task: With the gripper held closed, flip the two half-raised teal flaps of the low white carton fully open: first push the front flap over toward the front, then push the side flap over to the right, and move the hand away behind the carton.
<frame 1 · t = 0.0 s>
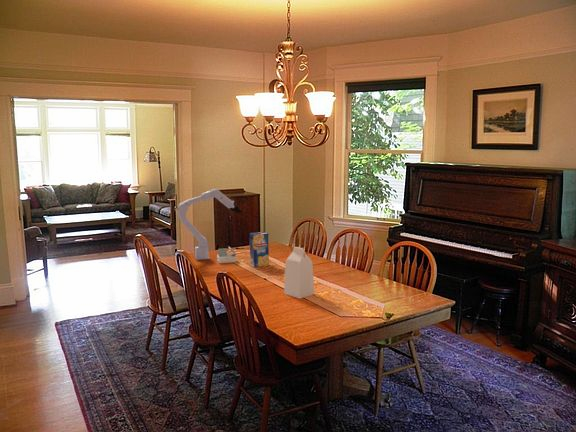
hand: (239, 212, 350), 32 cm above the table, tool tilted 50°, fingers open, 7 cm apart
side flap: (232, 250, 338), point 7 cm above the table, hinge at 50.0°
carton: (226, 261, 338), on the table
milk: (299, 294, 264), on the table
front flap: (222, 252, 334), point 7 cm above the table, hinge at 50.0°
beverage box: (259, 265, 327), on the table
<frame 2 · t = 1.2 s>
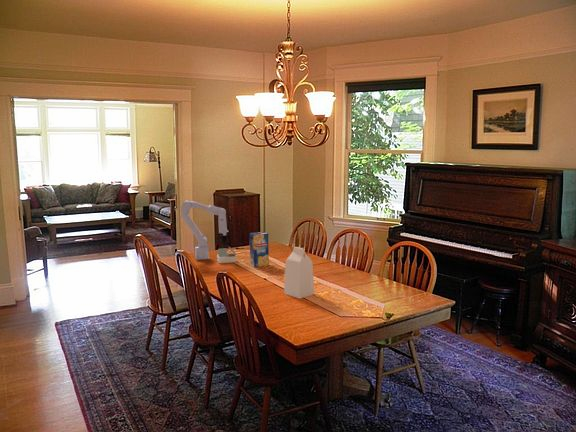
hand: (223, 243, 347), 10 cm above the table, tool pointing down, fingers open, 7 cm apart
nothing on the table moved.
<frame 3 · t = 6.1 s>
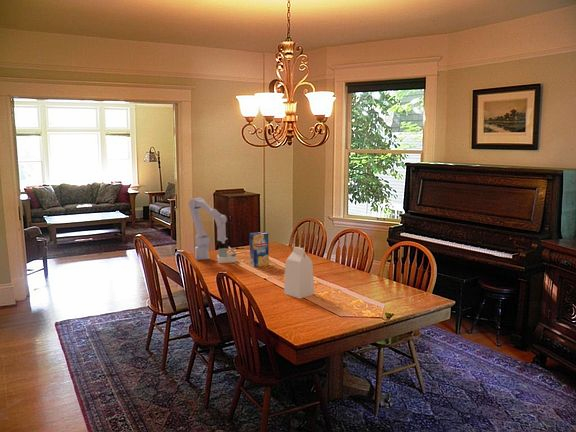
hand: (222, 251, 336), 7 cm above the table, tool pointing down, fingers closed, pressing on front flap
front flap: (222, 252, 334), point 7 cm above the table, hinge at 50.3°, touching gripper
everything else where it was.
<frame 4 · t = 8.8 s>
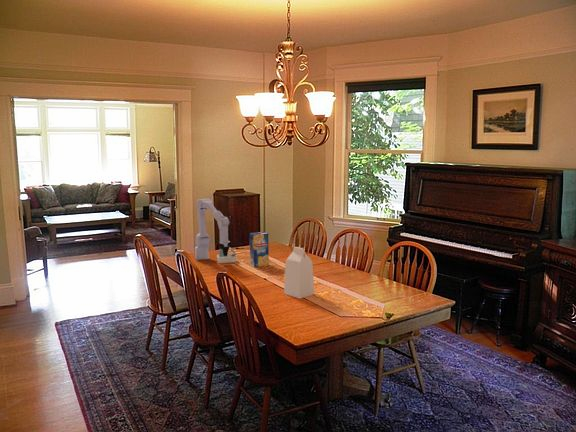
hand: (224, 254, 327), 7 cm above the table, tool pointing down, fingers open, 7 cm apart
front flap: (223, 252, 331), point 8 cm above the table, hinge at 111.1°, touching gripper
everything else where it was.
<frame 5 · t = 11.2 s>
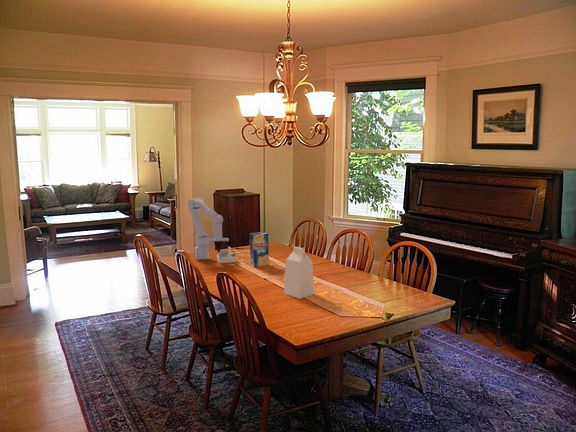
hand: (218, 251, 336), 7 cm above the table, tool pointing down, fingers closed
front flap: (223, 254, 330), point 7 cm above the table, hinge at 136.5°
everything else where it was.
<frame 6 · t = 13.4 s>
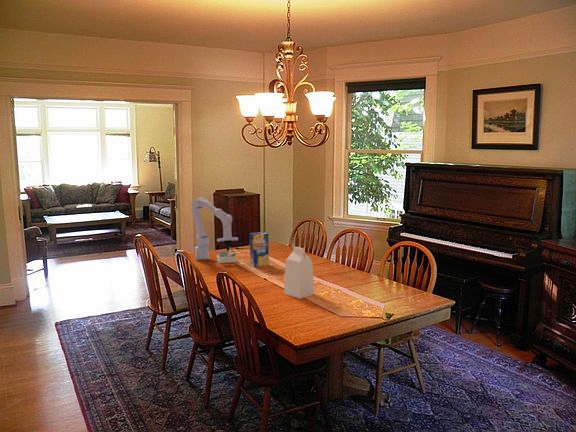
hand: (227, 251, 337), 7 cm above the table, tool pointing down, fingers closed, pressing on side flap
side flap: (232, 250, 338), point 7 cm above the table, hinge at 50.0°, touching gripper
front flap: (223, 254, 330), point 7 cm above the table, hinge at 137.5°
everything else where it was.
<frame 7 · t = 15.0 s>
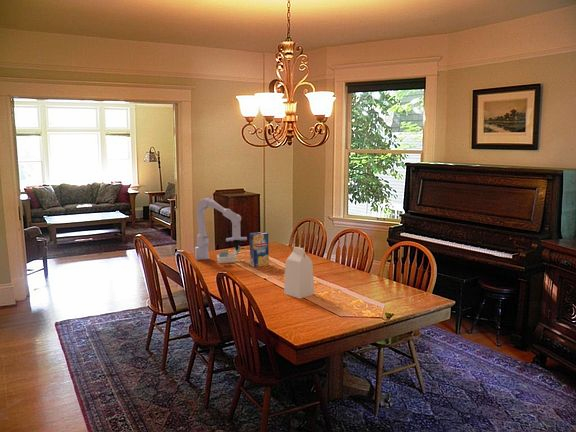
hand: (236, 250, 339), 7 cm above the table, tool pointing down, fingers closed, pressing on side flap
side flap: (237, 250, 339), point 7 cm above the table, hinge at 122.0°, touching gripper
everything else where it was.
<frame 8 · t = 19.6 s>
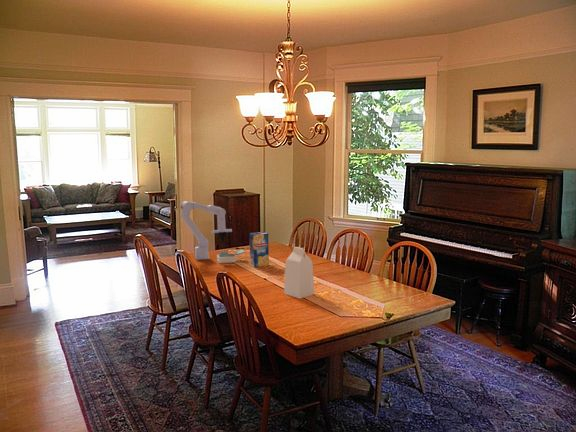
hand: (222, 242, 352), 10 cm above the table, tool pointing down, fingers closed
side flap: (239, 252, 340), point 6 cm above the table, hinge at 165.4°
everything else where it was.
at the end: front flap at +138° (first picture: +50°); side flap at +165° (first picture: +50°) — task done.
